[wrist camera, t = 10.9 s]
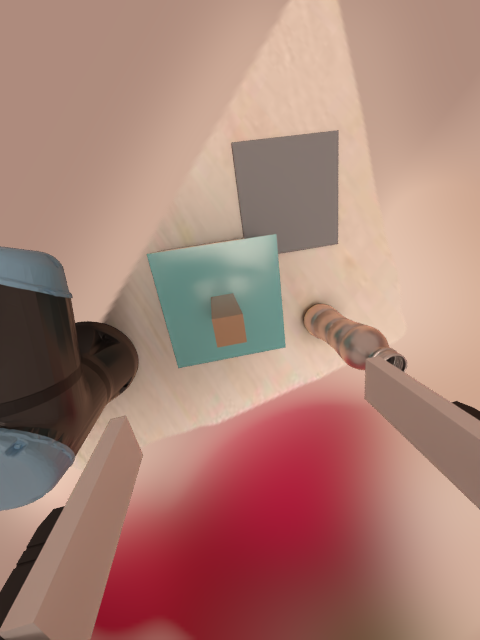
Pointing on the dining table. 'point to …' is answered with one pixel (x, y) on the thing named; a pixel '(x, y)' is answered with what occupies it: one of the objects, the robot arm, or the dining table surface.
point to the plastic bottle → (350, 338)
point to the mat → (289, 189)
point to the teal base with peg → (220, 298)
